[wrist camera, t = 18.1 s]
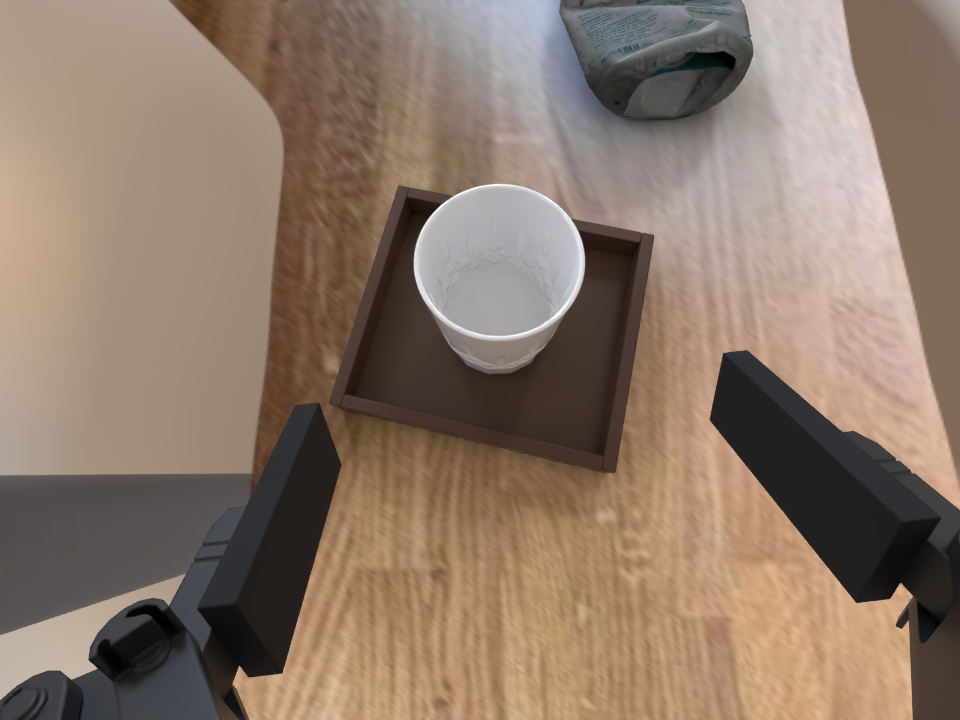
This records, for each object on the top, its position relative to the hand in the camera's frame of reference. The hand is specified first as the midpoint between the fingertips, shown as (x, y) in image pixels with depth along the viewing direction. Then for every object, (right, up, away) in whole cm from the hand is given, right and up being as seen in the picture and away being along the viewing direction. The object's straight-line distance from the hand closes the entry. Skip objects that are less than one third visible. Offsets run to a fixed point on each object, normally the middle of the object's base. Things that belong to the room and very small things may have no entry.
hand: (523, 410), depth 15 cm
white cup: (0, +4, +16) cm, 16 cm away
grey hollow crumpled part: (+11, +30, +22) cm, 39 cm away
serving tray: (0, +4, +16) cm, 16 cm away
